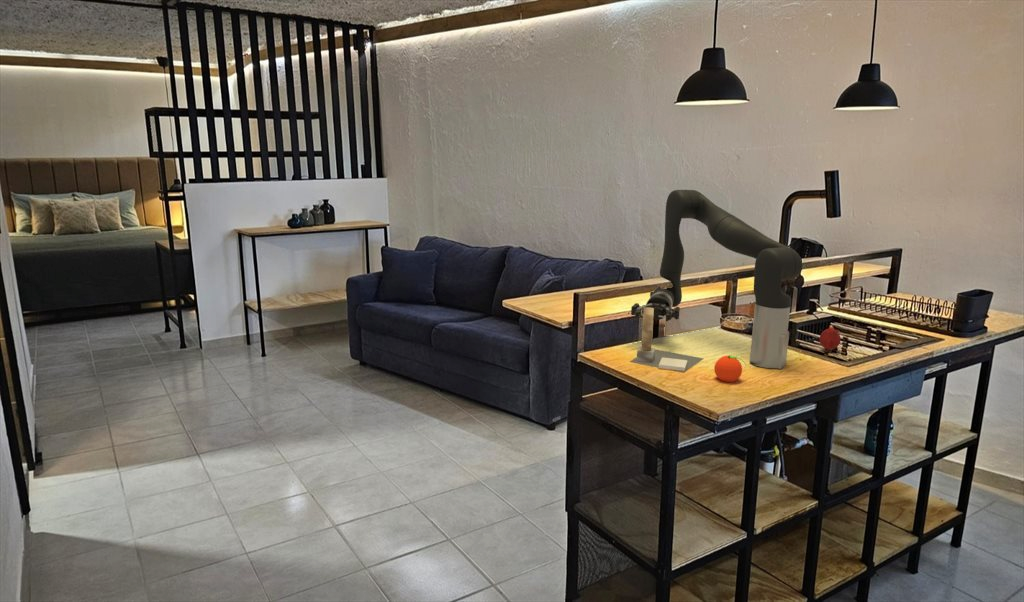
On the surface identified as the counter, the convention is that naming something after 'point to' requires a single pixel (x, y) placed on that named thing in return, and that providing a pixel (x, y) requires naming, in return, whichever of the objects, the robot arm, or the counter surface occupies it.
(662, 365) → the tile
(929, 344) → the counter surface
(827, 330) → the onion
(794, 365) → the counter surface
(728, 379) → the clementine
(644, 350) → the pusher
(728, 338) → the counter surface
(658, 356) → the mat
